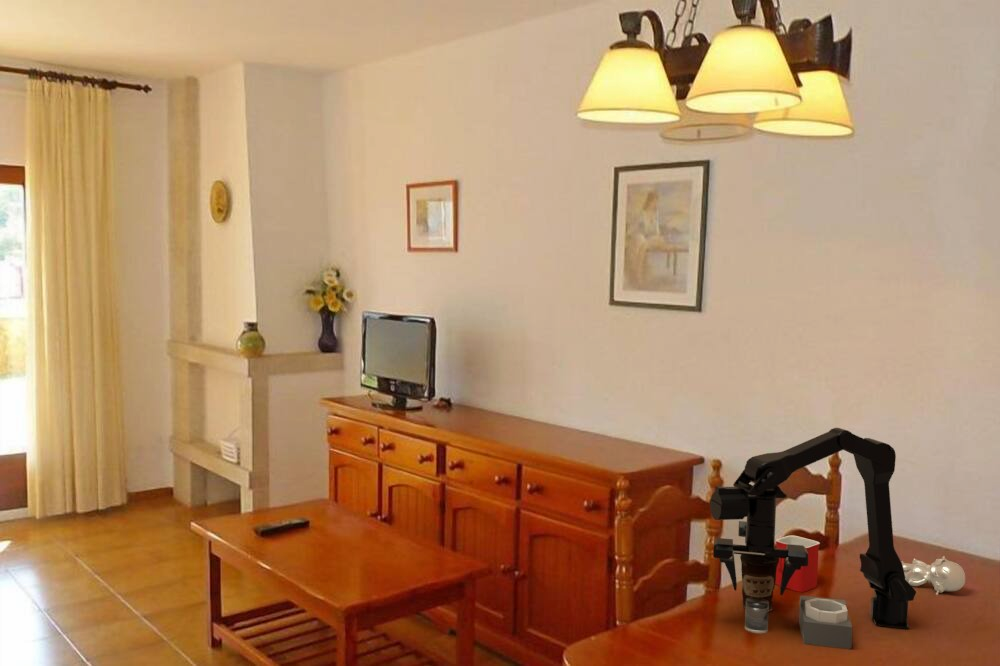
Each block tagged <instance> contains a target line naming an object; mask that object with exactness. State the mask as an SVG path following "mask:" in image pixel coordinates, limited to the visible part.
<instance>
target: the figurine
mask: <svg viewBox="0 0 1000 666" xmlns="http://www.w3.org/2000/svg"><path fill="white" fill-rule="evenodd" d="M901 562H902V566H903V570H904V574H905V580H906V581H907V582H908V583H909V584H910V585H911V586H912V587H919V586H921V585H924V584H927V583H928V584H932V587H933V589H934V591H935V595H936V596H938V595H939V593H940V594H942V593H943V592H951V593H952V592H957V591H959V590H961V589H962V588H963V587H964V586H965V583H966V573H965V571H964V569H963V567H962V566H961V565H960V564H958V563H956V562H955V561H951V560H948V559H947V558H946V556H945V555H943V556H942V557H941V558H936V559H935V561H933V562H932V563H931V564H928V563H926V562H924V561H922V560H918V559H917V558H913V559H912V563H909V562H907V563H906V562H904V561H902V560H901Z"/></svg>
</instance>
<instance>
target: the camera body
mask: <svg viewBox="0 0 1000 666" xmlns="http://www.w3.org/2000/svg"><path fill="white" fill-rule="evenodd" d="M798 624H799V629H800V634H801V638H802V643H803V644H804V645H812V646H821V647H828V648H837V649H846V650H847V649H848V650H852V640H853V639H852V637H853V625H852V623H851V620H850V617H849V614H848V609H847V601H846V600H844V599H836V598H828V597H827V598H826V597H820V596H819V597H818V596H807V595H799V612H798Z"/></svg>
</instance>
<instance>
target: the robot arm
mask: <svg viewBox="0 0 1000 666" xmlns="http://www.w3.org/2000/svg"><path fill="white" fill-rule="evenodd" d="M842 451H845V452H848V453H849V454H852V455H853V458H854V463H855V466H856V469H857V471H858V472H859V475H860V476H861V478H862V480H863V483H864V484H863V485H864V493H865V495H864V496H865V508H866V520H867V533H868V544H869V545H868V548H867V551H866V552H865V553H860V554H859V559H860V568H859V571H860V572H861V573H862V574H863V577H864V579H865V580H867V581H868V584H869V588H870V589H872V590H874V596H872V597H871V599H870V601H871V602H870V618H871V619H872V620H873V622H874V624H875V625H876V626H879V627H887V628H896V629H897V628H898V629H905V630H909V629H910V625H909V624H908V615H909V614H908V611H909V602H912V601H914V599H915V597H916V594H917V590H916V589H915V588H914V586H911V585H910V584H909V583H908V582H907V581H906V580H905V574H904V573H905V572H904V570H903V566H902V562H901V561H902V560H901V559H900V557H899V555H898V553H897V550H896V548H895V545H894V544H895V543H894V531H893V520H892V507H891V493H890V481H891V478H892V477H893V475H894V473H895V469H896V460H897V459H896V458H897V455H896V454H897V453H896V450H895V449H894V447H893V446H891V445H890V444H889V443H885V442H883V441H879V440H877V439H874V438H871V437H864V438H863V437H861V436H858V435H856V434H855V433H852V432H851V431H850V430H847V429H844V428H841V427H833V428H831V429H829V431H827V432H825V433H822V434H820V435H818V436H816V437H814V438H811V439H809V440H806V441H804V442H801V443H799V444H797V445H795V446H792V447H789V448H788V449H785V450H782V451H777V452H768V453H763V454H757V455H754V456H752V457H750V458H748V460H746V464H745V466H744V469H743V470H742V472H741V473H740V475H739V476H738V477H737V478H736V480H735V481H734V482H733V484H732V485H733V486H723V485H715V487H714V492H713V493H712V495H711V498H710V499H709V511H710V514H711V517H712V519H714V520H715V521H726V520H727V521H731V520H738V534H737V535H738V537H739V538H740V537H744V539H745V540H744V541H745V542H744V543H745V544H735V543H734V539H733V538H722V537H716V538H715V539H714V540H713V548H712V549H713V553H712V556H713V558H715V559H719V563H724V565H725V567H726V569H727V571H728V574H729V576H730V580H731V583H732V587H733V590H734V591H735V592H736V591H737V583H738V582H737V573H736V564H735V555H741V554H742V555H753V556H764V557H775V558H784V568H783V574H782V580H781V586H779V588H780V589H779V590H780V591H779V592H780V593H779V595H780V596H783V595H784V592H785V590H786V589H787V588H786V586H787V584H788V582H789V580H790V578H791V577H792V575H793V574H794V572H795V570H800V569H801V566H808V552H807V549H806V548H805V547H804V546H802V545H791V544H787V547H786V549H779V548H776V547H775V543H776V539H775V537H776V518H777V517H776V514H777V499H786V498H787V497H788V495H787V494H786V493H785V492H784V491H783V490H782V489H781V487H780V485H782V484H783V483H784V482H786V481H788V479H789V478H790V477H791V475H792V474H793V473H794V472H797V471H798V470H800V469H803V468H806V467H807V466H809V465H812V464H813V463H816V462H818V461H821V460H823V459H826V458H828V457H830V456H833V455H834V454H837V453H839V452H842ZM750 483H753V485H752V484H750ZM745 518H746V521H743V520H744V519H745ZM749 550H750V551H749ZM768 552H770V553H768Z"/></svg>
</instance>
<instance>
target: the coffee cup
mask: <svg viewBox="0 0 1000 666" xmlns="http://www.w3.org/2000/svg"><path fill="white" fill-rule="evenodd" d="M749 551H750V550H749ZM768 553H770V552H768ZM739 558H740V564H741V567H740V568H741V583H742V584H741V585H742V586H741V588H742V589H741V594H742V607H743V609H746V599H747V598H749V597H759V598H763V599H766V600H768V601H769V609H768V612H771V611H773V597H774V590H775V588H776V584H775V582H776V571H777V565H778V563H779V558H775V557H764V556H753V555H742V554H740V556H739Z"/></svg>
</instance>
